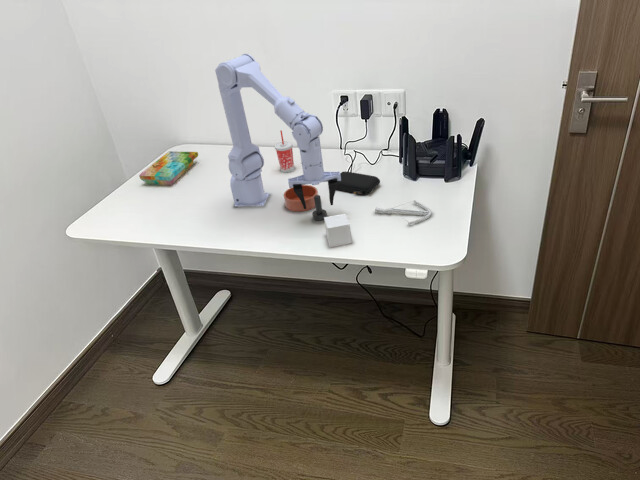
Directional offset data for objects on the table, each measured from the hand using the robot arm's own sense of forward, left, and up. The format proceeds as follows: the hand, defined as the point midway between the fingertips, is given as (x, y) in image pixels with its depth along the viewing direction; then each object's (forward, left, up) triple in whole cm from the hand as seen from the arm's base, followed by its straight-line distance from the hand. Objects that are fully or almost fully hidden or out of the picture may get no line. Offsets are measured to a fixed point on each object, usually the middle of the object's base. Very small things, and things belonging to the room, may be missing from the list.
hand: (318, 205), depth 155 cm
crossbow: (+24, +2, -5) cm, 25 cm away
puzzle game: (-59, +34, -5) cm, 68 cm away
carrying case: (+8, +19, -5) cm, 21 cm away
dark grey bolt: (0, 0, -4) cm, 4 cm away
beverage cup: (-17, +34, -5) cm, 38 cm away
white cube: (+7, -11, -5) cm, 14 cm away
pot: (-7, +9, -4) cm, 12 cm away
